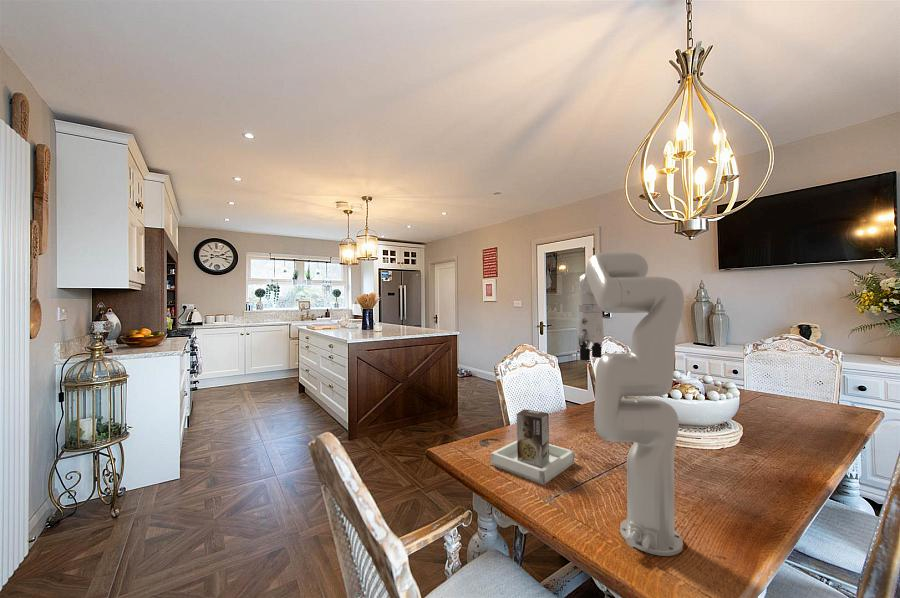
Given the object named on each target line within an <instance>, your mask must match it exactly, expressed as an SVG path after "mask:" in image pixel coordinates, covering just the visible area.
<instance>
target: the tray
mask: <svg viewBox="0 0 900 598" xmlns="http://www.w3.org/2000/svg"><path fill="white" fill-rule="evenodd" d="M517 460H518V455H517V440H515V441H513V442H511V443H508V444H507V445H504V446H503V447H501V448H499V449H496V450H494V451H493V452H490V466H492V465H493V466H492V467H495V466H496V467H495V468H497V467H498V468H497V469H500V470H502V469H503V470H502V471H505V470H506V472H508V471H509V472H508V473H510V472H511V473H510V474H513V473H514V474H513V475H515V474H516V475H515V476H517V477H521V478H523V477H524V479H526V480H528V479H529V481H531V482H534V483H537V484H538V485H542V486H544V485H545V484H547V483H548V482H550V481H551V480H552V479H554V478H556V477H557V476H559V474H561V473H563V472H564V471H565V470H567V469H568V468H569V467H571V466H572V465H574V464H575V451H574V450H572V449H568V448H565V447H562V446H557V445H554V444H551V443H549V462H548V463H547V464H546V465H545V466H544V467H543V468H542V467H538V466H534V465H530V464H526V463H523V462H520V461H517Z"/></svg>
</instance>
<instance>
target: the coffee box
mask: <svg viewBox="0 0 900 598" xmlns="http://www.w3.org/2000/svg"><path fill="white" fill-rule="evenodd" d="M549 430H550V428H549V412H543V411H538V410H537V411H536V410H533V409H532V410H531V409H525V408H524V409H522V410H520V411H519V412H518V413H516V433H517V434H516V441H517V455H518V460H517V461H520V462H523V463H526V464H530V465H534V466H538V467H542V468H543V467H544V466H545V465H546V464H547V463H548V462H549V444H550V443H549V442H550V435H549V433H550V431H549Z"/></svg>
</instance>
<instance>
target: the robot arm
mask: <svg viewBox="0 0 900 598" xmlns="http://www.w3.org/2000/svg"><path fill="white" fill-rule="evenodd" d="M648 271H649V264H648V262H647V259H645V258H644V257H643V256H642V255H640V254H638V253H634V252H598V253H595V254H593V255H592V256H591V257H590V258H589V259H588V261H587V264H586V269H585V272H584V273H583V274H582V275H580V276H579V278H578V304H579V305H578V310H579V311H578V313H579V325H578V326H579V329H578V331H579V333H578V334H579V335H578V336H577V337H578V345H579V359H580V361H585V362H586V361H587V362H589V361H591V356H592V358H599V360H598V362H597V363H596V364H597V365H596V367H595V368H596V369H595V379H594V380H595V382H594V386H595V387H594V407H593V408H594V409H593V410H594V411H593V414H594V417H593V418H594V419H593V420H594V427H595V428H596V429H595V431H596V433H597V435H598V436H599V437H600V438H601V439H602V440H603V441H604V440H605V441H607V442H613V443H629V442H632V445H631V447H630V449H629V450H628V452H627V456H626V496H627V497H626V505H627V508H626V510H627V511H626V515H627V516H626V517H627V518H626V519H624V520H622V521H621V523H620V525H619V527H620V528H619V532H620V535H621V536H622V538H623V539H624V540H625V543H626V544H627V545H628V546H629V547H631V548H636V549H637V550H640V551H642V552H644V553H647V554H650V555H655V556H661V557H672V556H675V555H679V554H680V553H681V552H682V551H683V549H684V542H683V539H682V536H681V535H680V534H679V532H677V531H676V530H675V450H676V443H677V438H678V434H679V427H680V426H679V424H680V422H679V416H678V414H677V410H675V408H674V407H673V406H672V405H671V404H669V403H667V402H666V401H663V400H661V399H655V398H623V397H662V396H665V395H667V394H669V393H670V392H671V390H672V387H673V383H674V373H675V372H674V371H675V370H674V369H675V358H676V355H675V354H676V339H677V333H678V330H679V327H680V324H681V321H682V319H683V315H684V311H685V297H684V292H683V289H682V287H681V285H680V284H679V283H678V282H677V281H676V280H673V279H671V278H668V277H662V276H647V274H648ZM603 312H604V313H608V314H641V313H642V314H644V313H647V314H646V315H645V316H644V317H643V318H642V319H640V321H639V322H638V324H637V325H636V326H635V327H634V329H633V331H632V336H631V350H630V351H629V352H628V353H623V352H621V353H619V352H618V353H617V352H616V353H607V354H605V355H602V346H603V343H602V342H603V341H604V340H605V339H604V337H605V336H604V323H603V322H604V320H603V315H602V314H603ZM591 343H592V346H591V349H590V348H589V347H590V345H591ZM633 442H634V444H633Z"/></svg>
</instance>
